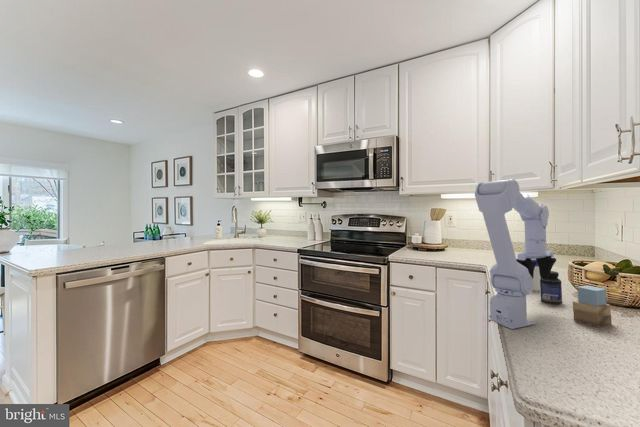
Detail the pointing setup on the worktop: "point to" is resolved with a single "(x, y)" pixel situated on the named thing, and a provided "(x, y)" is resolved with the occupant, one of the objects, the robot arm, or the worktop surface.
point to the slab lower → (592, 319)
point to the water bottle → (535, 275)
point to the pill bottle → (551, 289)
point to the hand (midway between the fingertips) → (536, 279)
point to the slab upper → (592, 309)
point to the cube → (592, 295)
